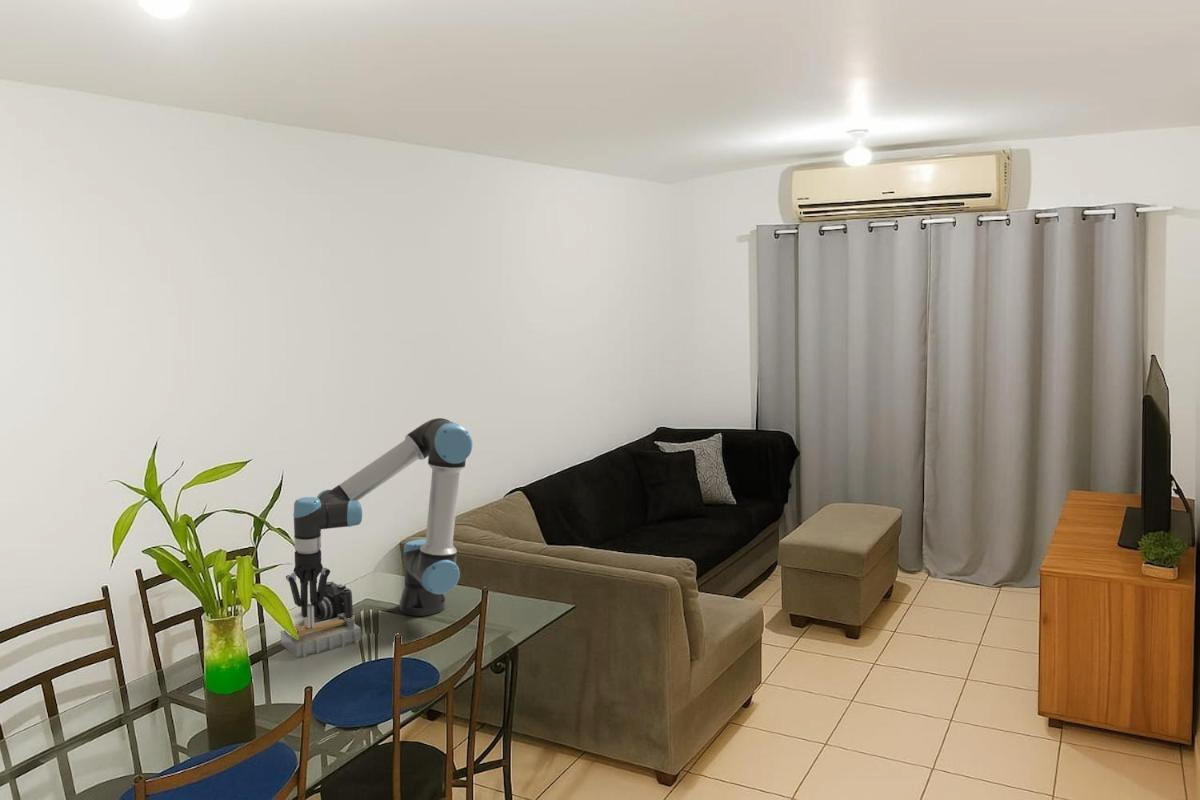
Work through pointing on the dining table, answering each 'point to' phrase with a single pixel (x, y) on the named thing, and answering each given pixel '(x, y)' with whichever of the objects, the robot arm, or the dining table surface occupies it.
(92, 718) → the dining table surface
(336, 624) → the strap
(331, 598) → the camera
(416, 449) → the robot arm
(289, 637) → the heatsink
